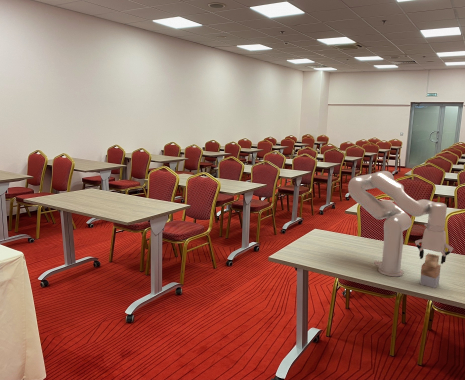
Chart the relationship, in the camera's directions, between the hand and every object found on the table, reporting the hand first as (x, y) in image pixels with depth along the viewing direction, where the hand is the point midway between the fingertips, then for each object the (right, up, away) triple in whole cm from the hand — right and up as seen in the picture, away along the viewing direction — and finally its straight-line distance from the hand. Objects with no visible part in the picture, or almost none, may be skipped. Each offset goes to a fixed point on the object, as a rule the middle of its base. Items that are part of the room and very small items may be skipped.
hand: (431, 260), depth 196 cm
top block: (0, -7, +1) cm, 7 cm away
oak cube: (0, -2, 0) cm, 2 cm away
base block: (0, -12, +2) cm, 12 cm away
